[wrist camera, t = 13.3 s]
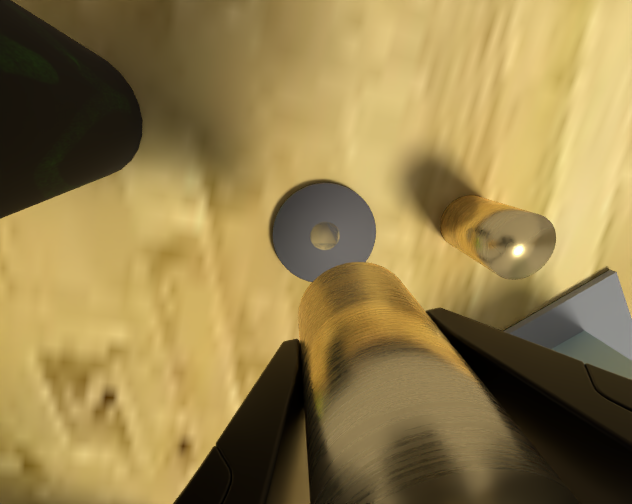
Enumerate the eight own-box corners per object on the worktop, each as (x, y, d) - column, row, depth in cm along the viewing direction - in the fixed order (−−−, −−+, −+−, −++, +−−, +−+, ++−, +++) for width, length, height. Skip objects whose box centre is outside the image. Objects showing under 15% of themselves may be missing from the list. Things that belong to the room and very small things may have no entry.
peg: (310, 370, 10) (340, 663, 4) (287, 275, 9) (286, 511, 3) (413, 347, 10) (572, 608, 4) (403, 250, 9) (603, 439, 3)
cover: (531, 427, 23) (683, 606, 14) (502, 376, 21) (657, 546, 12) (607, 387, 23) (817, 548, 14) (584, 330, 21) (811, 476, 12)
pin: (441, 251, 18) (488, 285, 14) (438, 201, 17) (488, 221, 13) (491, 241, 18) (553, 271, 14) (491, 190, 17) (558, 206, 13)
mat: (506, 463, 25) (509, 468, 25) (442, 366, 21) (445, 370, 21) (649, 388, 24) (655, 392, 23) (610, 269, 20) (616, 272, 19)
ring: (285, 289, 18) (285, 292, 18) (261, 194, 16) (261, 195, 16) (380, 269, 18) (381, 271, 18) (367, 172, 16) (368, 173, 16)
